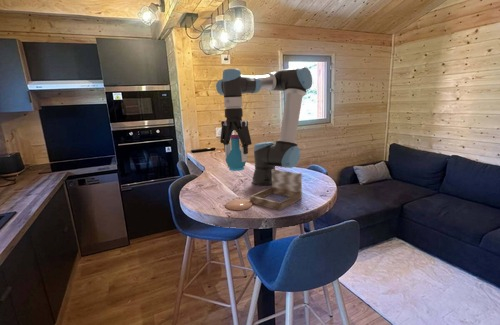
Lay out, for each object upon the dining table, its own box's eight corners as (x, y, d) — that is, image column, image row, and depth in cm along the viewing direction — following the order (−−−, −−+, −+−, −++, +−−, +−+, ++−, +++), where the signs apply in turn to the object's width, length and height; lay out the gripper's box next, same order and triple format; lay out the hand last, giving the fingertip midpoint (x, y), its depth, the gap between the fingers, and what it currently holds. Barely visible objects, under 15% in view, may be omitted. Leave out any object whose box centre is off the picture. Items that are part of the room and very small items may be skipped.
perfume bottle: (226, 167, 123) (224, 134, 120) (246, 166, 124) (244, 133, 121) (226, 172, 114) (224, 136, 111) (247, 170, 115) (246, 135, 112)
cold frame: (250, 202, 126) (249, 177, 124) (273, 191, 140) (273, 169, 137) (280, 210, 115) (279, 183, 113) (302, 197, 129) (302, 173, 126)
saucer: (220, 206, 122) (220, 204, 122) (238, 198, 131) (238, 197, 131) (239, 212, 115) (239, 210, 114) (257, 204, 123) (257, 202, 123)
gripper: (209, 108, 118) (213, 159, 123) (246, 107, 104) (249, 164, 108) (222, 108, 123) (225, 156, 128) (259, 106, 109) (261, 161, 114)
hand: (236, 160), depth 118 cm, fingers closed on perfume bottle, 9 cm apart
